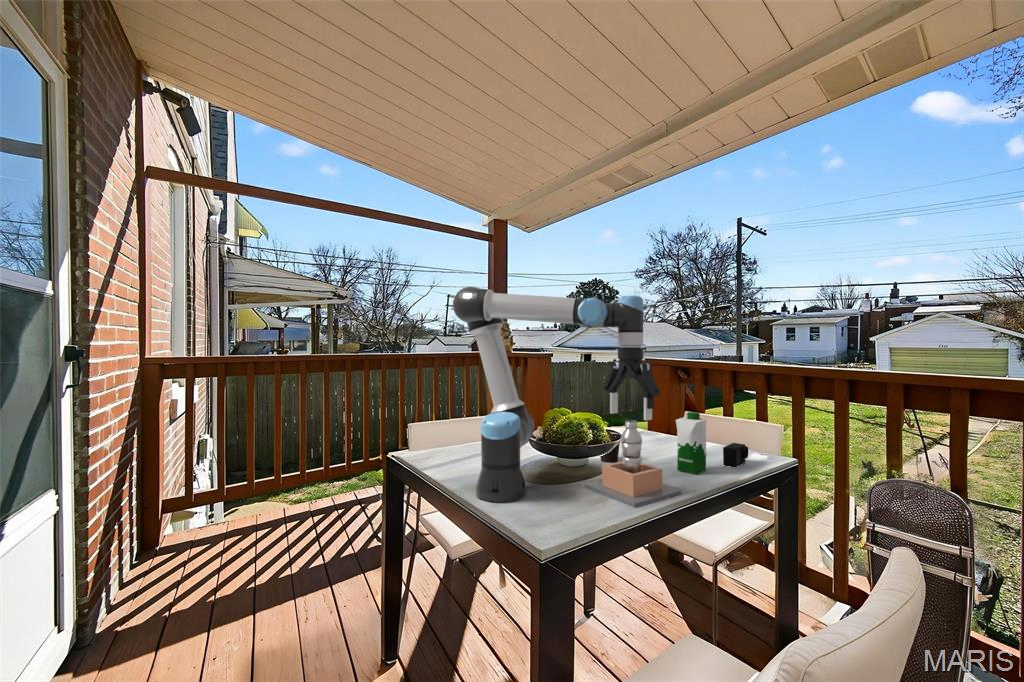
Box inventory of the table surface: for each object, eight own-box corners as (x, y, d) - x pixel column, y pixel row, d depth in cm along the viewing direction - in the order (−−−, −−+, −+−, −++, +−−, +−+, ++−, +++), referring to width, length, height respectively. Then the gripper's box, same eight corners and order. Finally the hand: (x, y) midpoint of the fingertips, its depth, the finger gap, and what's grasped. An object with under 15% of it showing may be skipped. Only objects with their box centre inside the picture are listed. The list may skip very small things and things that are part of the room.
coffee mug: (615, 464, 158) (614, 437, 158) (593, 461, 163) (593, 434, 163) (627, 458, 167) (627, 432, 167) (606, 454, 172) (606, 430, 172)
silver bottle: (645, 485, 131) (644, 420, 131) (639, 492, 125) (639, 424, 126) (624, 482, 135) (623, 418, 135) (617, 488, 129) (617, 422, 129)
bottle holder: (634, 507, 116) (634, 481, 116) (584, 487, 133) (584, 464, 133) (681, 493, 127) (681, 470, 127) (630, 476, 144) (629, 455, 144)
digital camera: (739, 469, 152) (739, 449, 152) (723, 466, 156) (723, 447, 156) (749, 463, 159) (748, 444, 159) (733, 460, 163) (733, 442, 163)
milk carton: (709, 470, 150) (708, 413, 150) (698, 476, 144) (697, 416, 144) (685, 465, 156) (684, 410, 156) (673, 470, 150) (672, 413, 150)
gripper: (673, 347, 122) (672, 421, 122) (609, 346, 143) (609, 409, 143) (655, 347, 118) (655, 424, 118) (593, 346, 139) (592, 411, 139)
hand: (630, 416), depth 130 cm, fingers open, 13 cm apart
